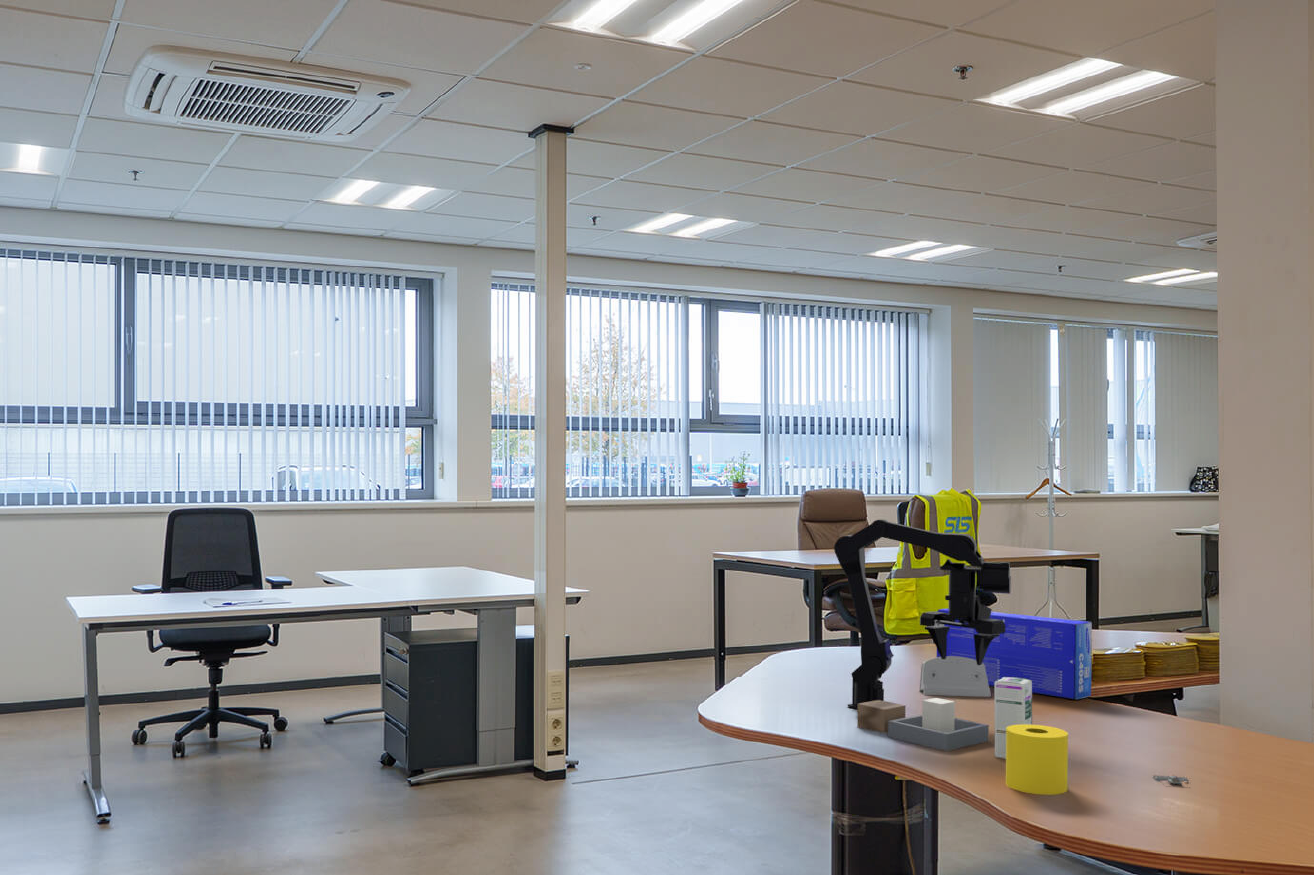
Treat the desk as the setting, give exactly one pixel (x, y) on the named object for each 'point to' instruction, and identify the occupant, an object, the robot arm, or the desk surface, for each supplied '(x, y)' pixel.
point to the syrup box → (1011, 708)
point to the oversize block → (878, 715)
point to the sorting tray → (938, 733)
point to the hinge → (954, 677)
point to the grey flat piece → (1171, 779)
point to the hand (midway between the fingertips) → (961, 662)
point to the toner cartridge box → (1033, 653)
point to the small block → (938, 714)
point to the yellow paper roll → (1036, 759)
